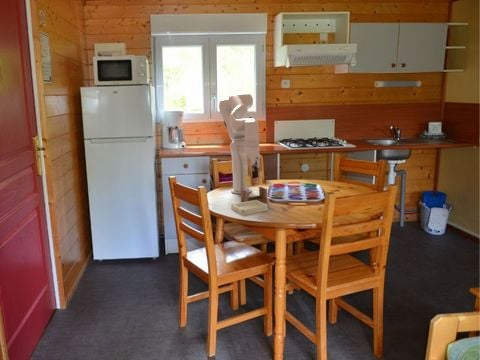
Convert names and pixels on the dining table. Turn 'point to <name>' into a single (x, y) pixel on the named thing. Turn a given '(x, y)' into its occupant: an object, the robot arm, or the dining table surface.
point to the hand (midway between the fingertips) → (252, 176)
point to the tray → (249, 207)
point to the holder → (261, 197)
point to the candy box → (248, 174)
